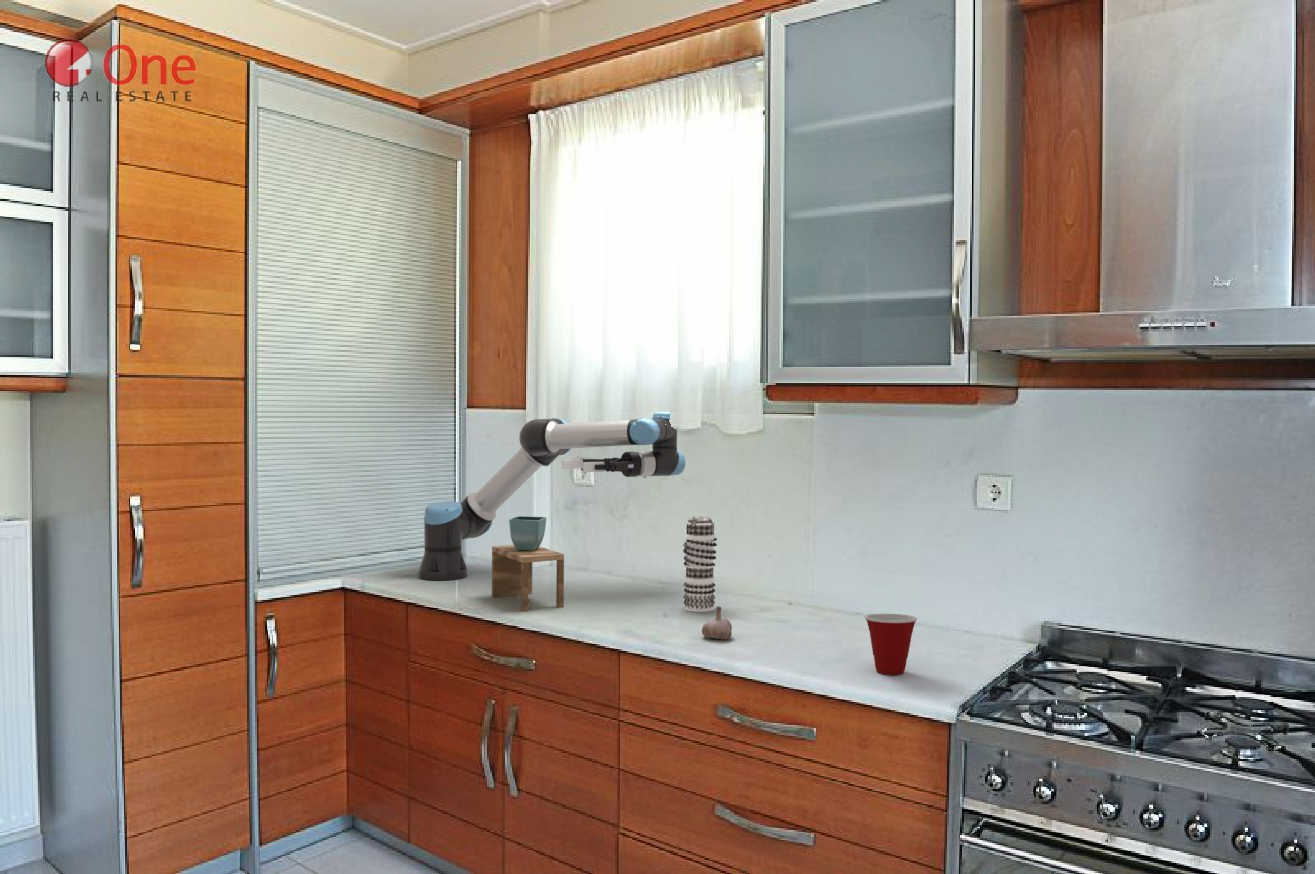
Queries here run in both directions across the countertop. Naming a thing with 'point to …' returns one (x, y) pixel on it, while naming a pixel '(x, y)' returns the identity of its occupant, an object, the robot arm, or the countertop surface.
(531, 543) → the flower pot
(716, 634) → the garlic bulb
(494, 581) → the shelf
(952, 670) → the countertop surface
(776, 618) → the countertop surface
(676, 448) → the robot arm
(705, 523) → the decorative candle
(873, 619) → the plastic cup
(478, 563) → the countertop surface
